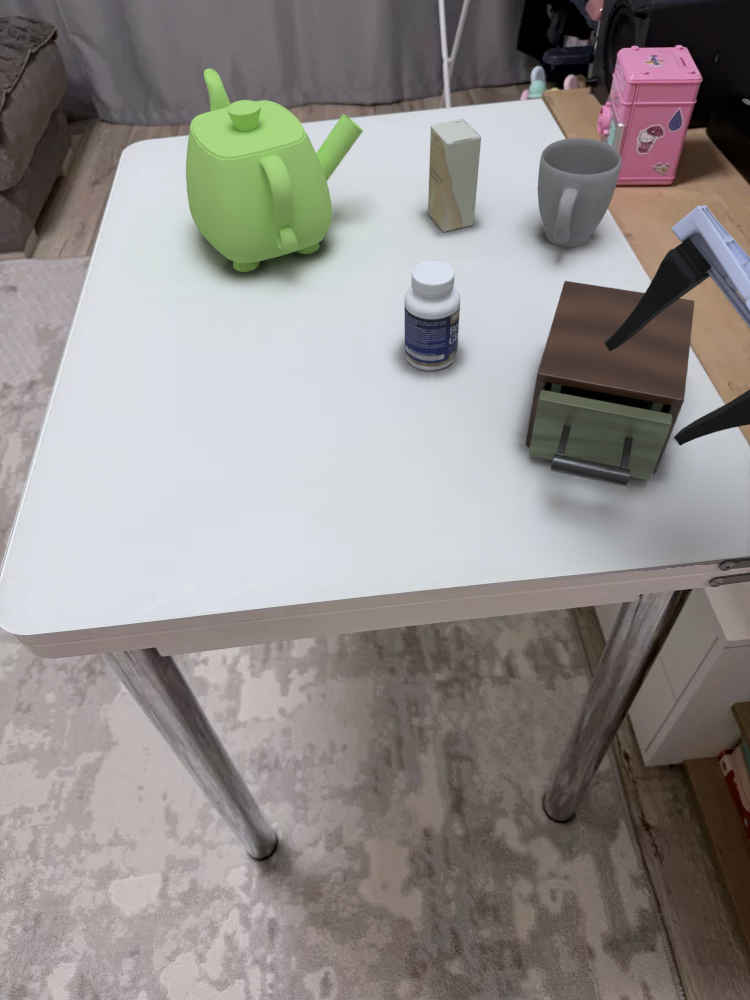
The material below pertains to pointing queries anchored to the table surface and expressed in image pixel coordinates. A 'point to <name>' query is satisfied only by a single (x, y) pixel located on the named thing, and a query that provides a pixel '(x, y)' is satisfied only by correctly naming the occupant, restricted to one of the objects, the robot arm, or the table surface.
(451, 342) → the pill bottle
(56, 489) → the table surface
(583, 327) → the cabinet
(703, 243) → the robot arm
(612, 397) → the drawer
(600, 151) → the mug
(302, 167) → the teapot
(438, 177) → the box
